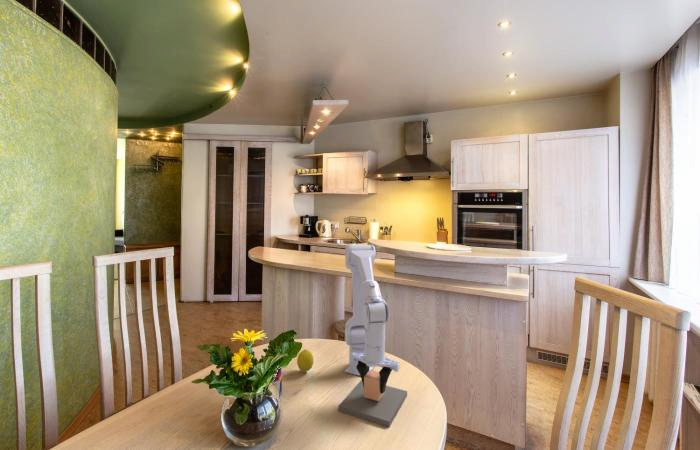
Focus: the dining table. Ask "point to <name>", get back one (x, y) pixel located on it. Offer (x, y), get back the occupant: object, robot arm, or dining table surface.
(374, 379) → the terracotta block
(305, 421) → the dining table surface
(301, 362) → the lemon
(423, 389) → the dining table surface
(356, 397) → the shelf board
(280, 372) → the energy drink
